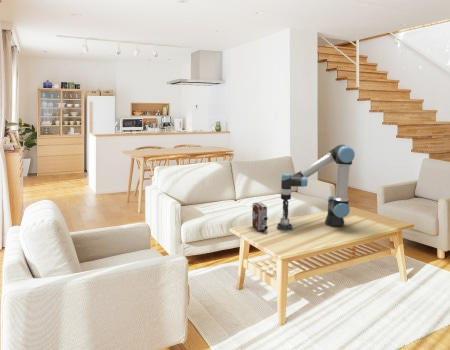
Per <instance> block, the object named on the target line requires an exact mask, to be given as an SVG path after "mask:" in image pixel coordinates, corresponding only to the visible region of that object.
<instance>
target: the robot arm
mask: <svg viewBox="0 0 450 350" xmlns="http://www.w3.org/2000/svg"><path fill="white" fill-rule="evenodd" d="M355 155H356V154H355V150H354V148H352V147H351V146H348V145H345V144H339V145H336V146H335V147H333V148H331V150H329V151H328V152H327V153H326V154H325V155H324V156H322V157H320V158H319V159H316V160H315V161H314V162H312V163H311V164H309V165H308V166H306V167H305V168H303V169H301V170H300V171H298V172H296V173H295V172H294V173H293V174H292V173H282V175H281V179H280V181H281V182H280V183H281V184H280V185H281V187H280V188H281V189H280V190H279V191H280V193H281V194H280V199H281V200H282V218H284V223H286V224H288V218H289V201H288V200H291V199H292V187H302V188H303V187H307V186H308V183H309V182H308V181H309V180H308V178H309V177H311V176H313V175H314V174H316V173H317V172H319V171H321V170H322V169H325V167H327V166H329V165H330V164H332V163H335V164H336V165H337V170H336V184H335V195H331V196H329V197H328V200H327V201H328V202H327V203H328V204H327V214H326V218H325V220H324V224H325V226H328V227H334V228H341V227H344V226H345V220H344V218H346V217H347V216H348V215H349V214H350V211H351V208H350V206H349V202H350V199H349V198H348V189H349V178H350V169H351V168H350V167H351V166H352V165H353V160H354V159H355Z"/></svg>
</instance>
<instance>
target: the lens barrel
mask: <svg viewBox="0 0 450 350" xmlns="http://www.w3.org/2000/svg"><path fill="white" fill-rule="evenodd" d="M276 230H278V231H282V232H292V231H293V230H294V227H293V224H292V223H290V222H289V226H287V227H285V226H280V222H279V223H277V226H276Z"/></svg>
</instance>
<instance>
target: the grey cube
mask: <svg viewBox="0 0 450 350" xmlns="http://www.w3.org/2000/svg"><path fill="white" fill-rule="evenodd" d="M279 223H280V226H285V227H287V226H289V223H290V218H289V217H288V224H286V223H284V218H283V217H281V218H280V219H279Z"/></svg>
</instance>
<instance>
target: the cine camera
mask: <svg viewBox="0 0 450 350" xmlns="http://www.w3.org/2000/svg"><path fill="white" fill-rule="evenodd" d="M251 219H252V220H251V224H252V225H251V226H252V228H254V229H255V230H256V231H257V232H265V231H267V230H268V228H269V226H268V223H267V222H268V219H269V218H268V206H267V205H266V204H265V203H263V202H253V203H252V214H251Z"/></svg>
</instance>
